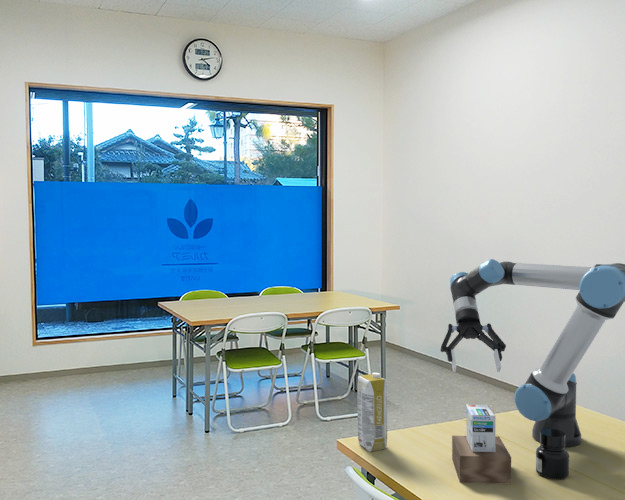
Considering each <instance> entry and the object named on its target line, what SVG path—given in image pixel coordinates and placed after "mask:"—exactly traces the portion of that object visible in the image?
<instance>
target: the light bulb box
mask: <svg viewBox="0 0 625 500" xmlns="http://www.w3.org/2000/svg"><path fill="white" fill-rule="evenodd" d="M465 405H466V407H465V409H466V411H465V413H466V415H465V416H466V419H465V420H466V422H465V423H466V436H467V441H468V443H469V445H470V447H471V450H472V452H496V447H495V436H496V415H495V413H494V412H493V411H492V409H491V408H490V406H489V404H473V403H470V404H467V403H466V404H465Z"/></svg>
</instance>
